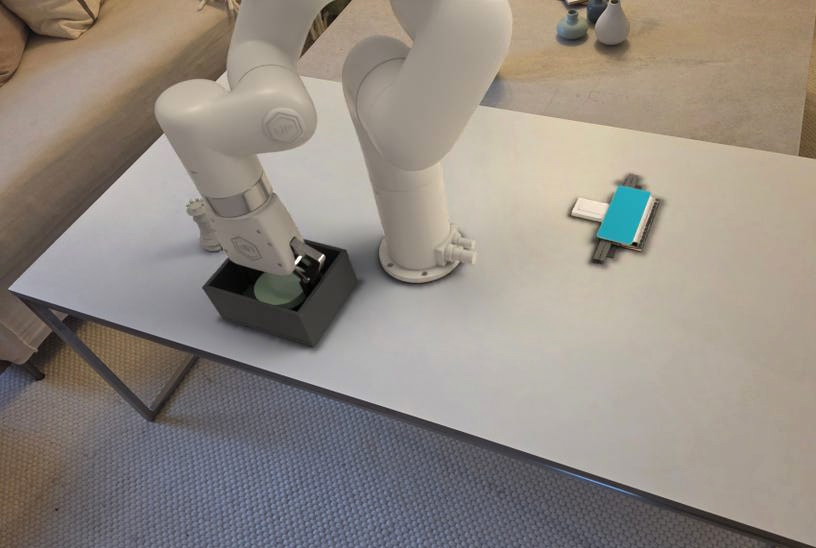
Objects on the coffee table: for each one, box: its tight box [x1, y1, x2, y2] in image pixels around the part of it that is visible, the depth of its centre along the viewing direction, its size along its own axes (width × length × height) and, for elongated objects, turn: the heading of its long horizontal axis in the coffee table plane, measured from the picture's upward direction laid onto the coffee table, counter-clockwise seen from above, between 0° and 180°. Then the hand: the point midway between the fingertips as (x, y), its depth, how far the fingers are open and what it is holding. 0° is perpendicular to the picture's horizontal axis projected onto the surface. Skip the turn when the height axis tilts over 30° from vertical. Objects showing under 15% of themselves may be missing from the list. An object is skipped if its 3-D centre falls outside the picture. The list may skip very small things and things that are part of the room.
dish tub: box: [201, 238, 359, 348], centre depth 81 cm, size 15×12×7 cm
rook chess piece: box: [185, 197, 222, 252], centre depth 89 cm, size 4×4×8 cm
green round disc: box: [254, 266, 306, 310], centre depth 82 cm, size 7×7×3 cm
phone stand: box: [571, 173, 661, 264], centre depth 89 cm, size 20×12×2 cm, turn 157°
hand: (286, 285), depth 82 cm, fingers open, 9 cm apart
